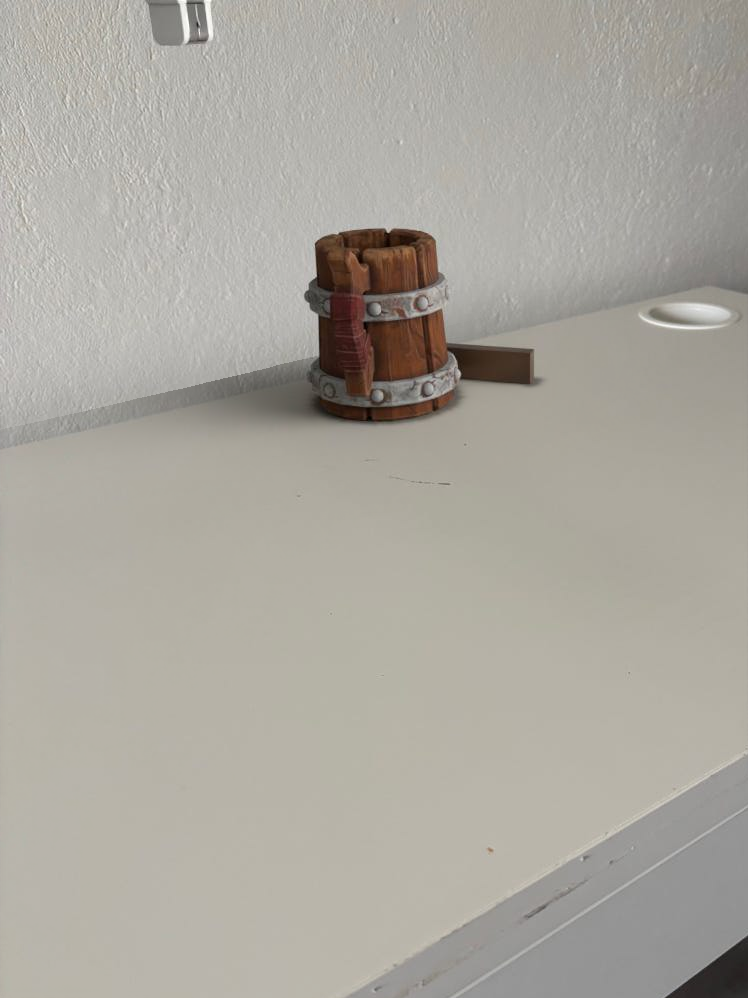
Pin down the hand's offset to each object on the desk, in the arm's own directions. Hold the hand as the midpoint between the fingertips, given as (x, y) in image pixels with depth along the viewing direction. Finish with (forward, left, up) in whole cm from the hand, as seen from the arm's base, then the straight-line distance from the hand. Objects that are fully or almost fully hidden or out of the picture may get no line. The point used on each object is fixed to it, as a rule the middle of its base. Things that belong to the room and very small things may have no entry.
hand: (185, 44), depth 53 cm
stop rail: (+5, +26, -25) cm, 36 cm away
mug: (+2, +17, -25) cm, 30 cm away
